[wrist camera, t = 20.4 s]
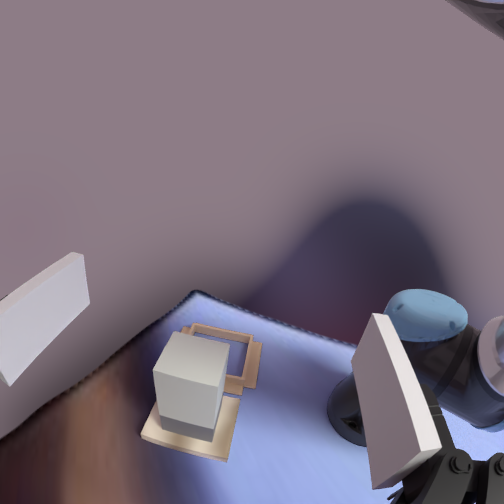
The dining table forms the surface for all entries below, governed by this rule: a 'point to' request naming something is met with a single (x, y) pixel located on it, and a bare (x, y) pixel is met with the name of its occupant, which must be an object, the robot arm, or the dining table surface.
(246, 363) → the tan square frame
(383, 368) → the robot arm
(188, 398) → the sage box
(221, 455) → the birch board
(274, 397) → the dining table surface
